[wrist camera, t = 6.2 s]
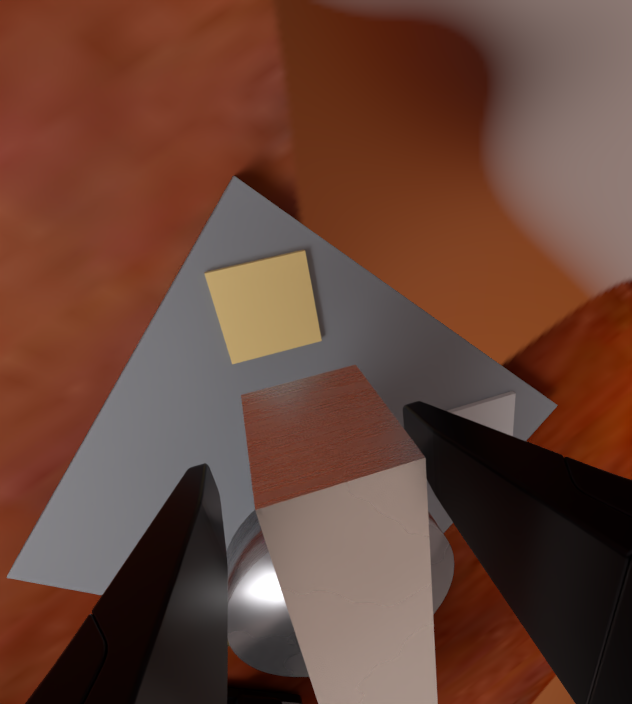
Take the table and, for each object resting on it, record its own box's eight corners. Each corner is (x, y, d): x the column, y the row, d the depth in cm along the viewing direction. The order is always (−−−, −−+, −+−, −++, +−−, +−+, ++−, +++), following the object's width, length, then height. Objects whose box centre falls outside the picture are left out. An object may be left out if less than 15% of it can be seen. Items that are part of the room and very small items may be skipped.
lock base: (343, 624, 21) (367, 709, 18) (16, 558, 15) (-43, 671, 11) (543, 396, 18) (621, 447, 14) (233, 175, 11) (241, 175, 8)
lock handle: (434, 645, 16) (507, 801, 12) (251, 715, 15) (265, 911, 11) (418, 315, 10) (563, 414, 6) (94, 396, 9) (-11, 592, 5)
